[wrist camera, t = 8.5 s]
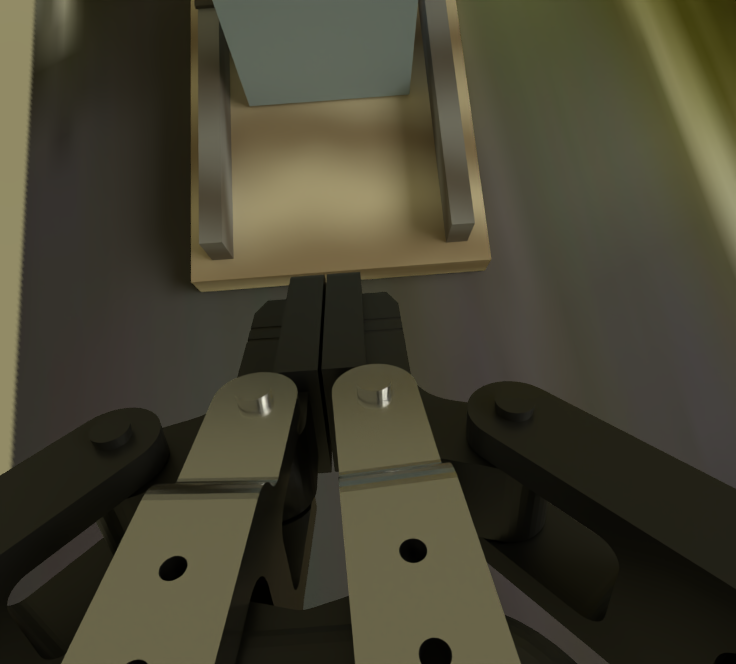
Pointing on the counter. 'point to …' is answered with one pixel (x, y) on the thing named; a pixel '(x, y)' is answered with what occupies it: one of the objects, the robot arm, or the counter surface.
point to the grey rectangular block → (319, 48)
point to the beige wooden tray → (334, 171)
